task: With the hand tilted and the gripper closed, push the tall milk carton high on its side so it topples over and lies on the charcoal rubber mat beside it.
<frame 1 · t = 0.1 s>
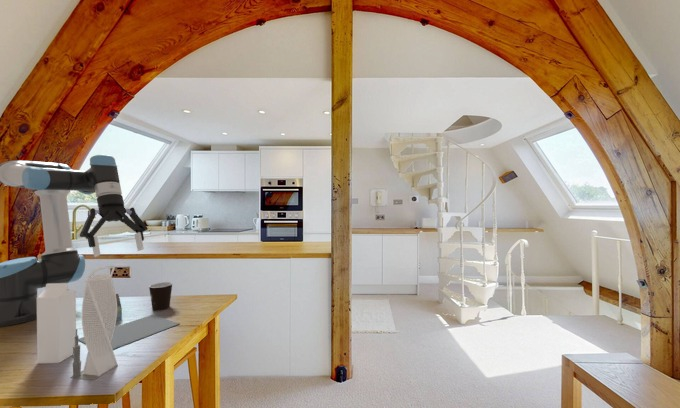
hand: (120, 252, 105), 28 cm above the table, tool tilted 20°, fingers open, 13 cm apart
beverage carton: (108, 316, 119), on the table
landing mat: (131, 331, 104), on the table
skyscraper: (99, 371, 81), on the table
coffee mug: (162, 307, 129), on the table
milk: (57, 358, 87), on the table
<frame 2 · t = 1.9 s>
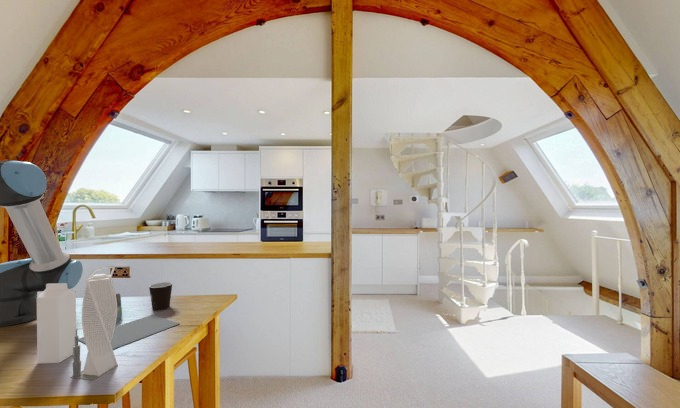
nothing on the table moved.
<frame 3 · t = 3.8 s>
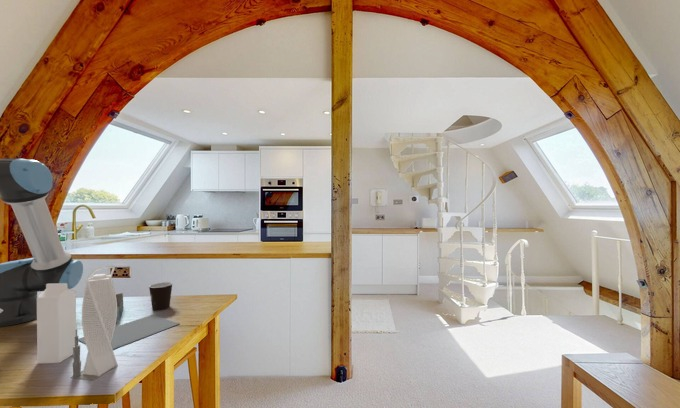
nothing on the table moved.
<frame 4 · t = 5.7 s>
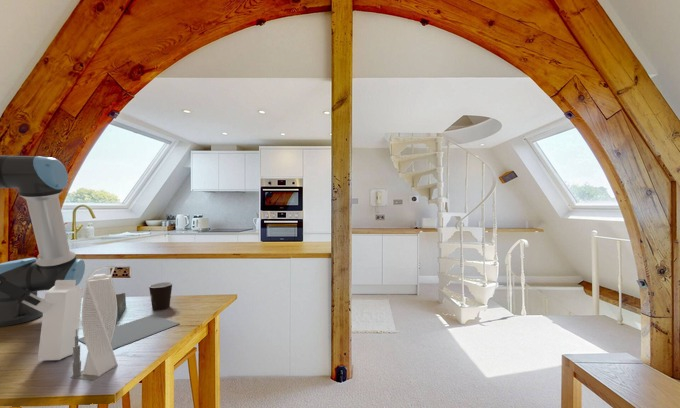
hand: (47, 308, 85), 15 cm above the table, tool tilted 45°, fingers closed
milk: (57, 357, 87), on the table, touching gripper
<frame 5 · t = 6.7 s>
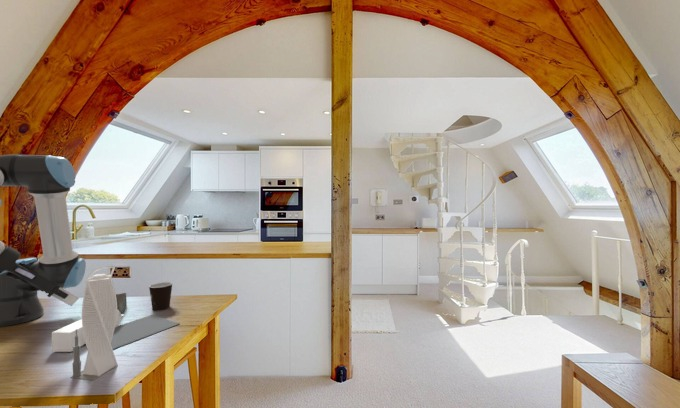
hand: (74, 301, 90), 15 cm above the table, tool tilted 45°, fingers closed
milk: (60, 342, 90), point 3 cm above the table, touching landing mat
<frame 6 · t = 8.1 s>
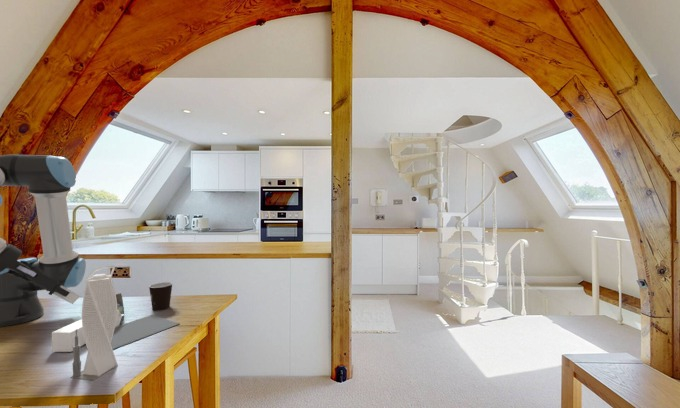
hand: (75, 299, 91), 16 cm above the table, tool tilted 45°, fingers closed
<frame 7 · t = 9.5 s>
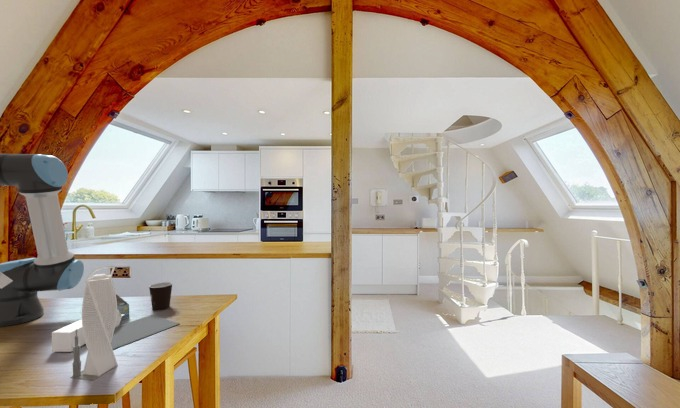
hand: (6, 284, 81), 24 cm above the table, tool tilted 40°, fingers closed
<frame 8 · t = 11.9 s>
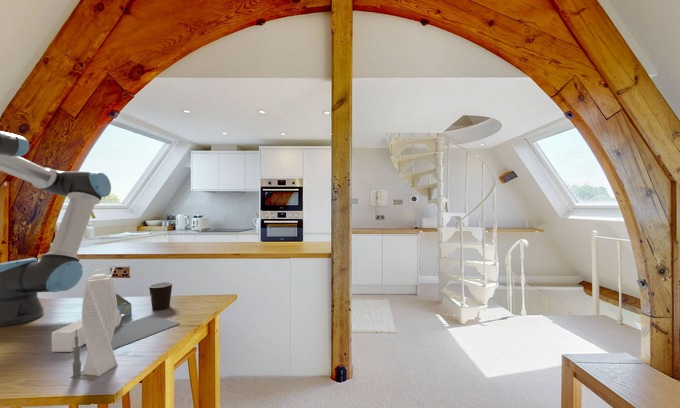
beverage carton: (113, 315, 120), on the table, touching milk
milk: (60, 342, 90), point 3 cm above the table, touching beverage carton, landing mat
everything else where it was.
at the end: milk tilted 90°; milk touching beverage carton, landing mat; skyscraper moved 0.5 cm from its start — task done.
